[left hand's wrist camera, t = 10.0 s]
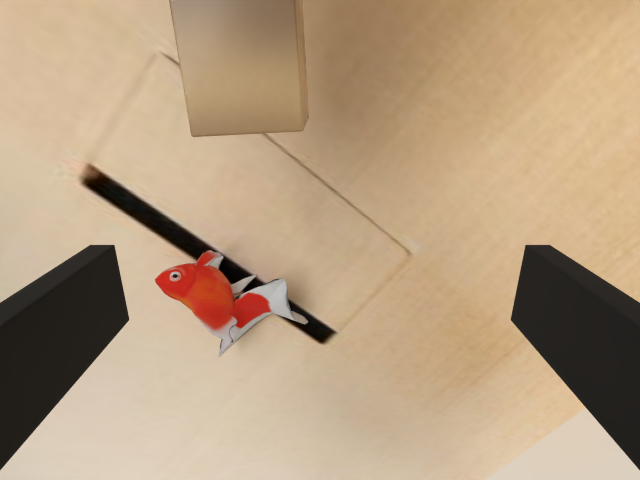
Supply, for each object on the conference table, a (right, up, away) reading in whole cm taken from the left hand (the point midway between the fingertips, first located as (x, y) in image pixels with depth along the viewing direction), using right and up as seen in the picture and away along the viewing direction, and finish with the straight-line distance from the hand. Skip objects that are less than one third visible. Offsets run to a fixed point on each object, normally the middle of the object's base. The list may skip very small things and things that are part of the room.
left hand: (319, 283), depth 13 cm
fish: (-8, -3, +31) cm, 32 cm away
